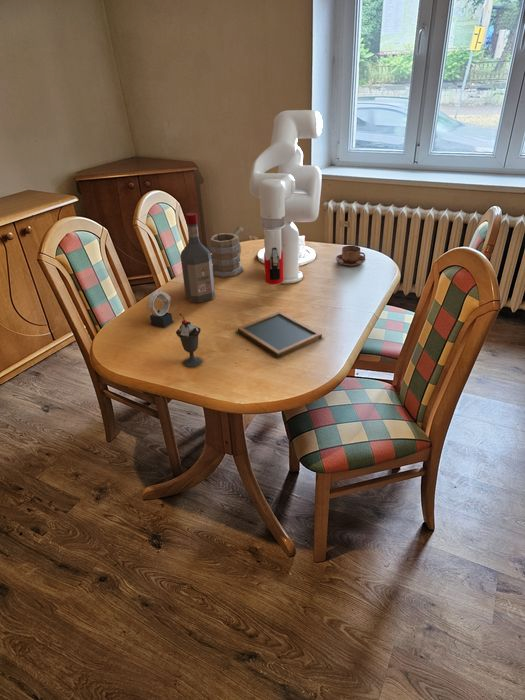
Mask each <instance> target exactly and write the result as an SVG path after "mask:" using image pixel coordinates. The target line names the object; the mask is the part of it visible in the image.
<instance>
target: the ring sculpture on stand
mask: <svg viewBox="0 0 525 700" xmlns="http://www.w3.org/2000/svg"><path fill="white" fill-rule="evenodd" d="M156 299H158V300H159V301H161V303H162V307H161V309H159V310H157V309H156V308H155V305H154V304H155V300H156ZM171 299H172V298H171V296H170V295H169V294H168V293H166V292H165V291H163V290H155V291H153V292H152V293H150V295H149V297H148V301H147V307H148V311H149V312H150V315H149V320H150V325H152V326H156V327H159V328H166V327H167V326H169V325H171V324H173V323H174V320H173V313H171V312H168V311H169V309H170V304H171Z"/></svg>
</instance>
